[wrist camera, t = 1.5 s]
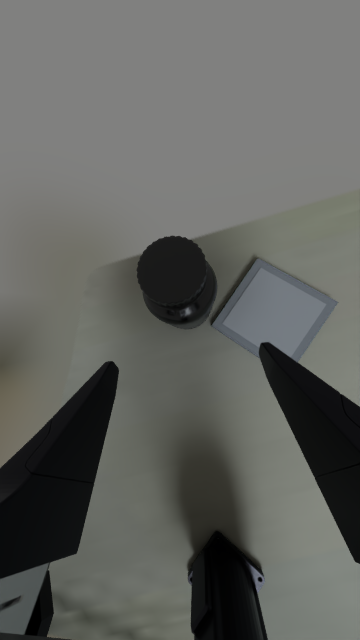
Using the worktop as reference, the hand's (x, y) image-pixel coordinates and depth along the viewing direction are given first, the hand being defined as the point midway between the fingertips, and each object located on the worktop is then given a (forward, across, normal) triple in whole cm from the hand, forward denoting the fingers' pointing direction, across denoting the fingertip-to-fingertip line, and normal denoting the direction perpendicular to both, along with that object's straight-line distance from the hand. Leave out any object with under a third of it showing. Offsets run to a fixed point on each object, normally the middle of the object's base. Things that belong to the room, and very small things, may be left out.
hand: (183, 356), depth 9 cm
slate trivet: (+10, -11, +7) cm, 16 cm away
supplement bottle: (+12, 0, +5) cm, 13 cm away
